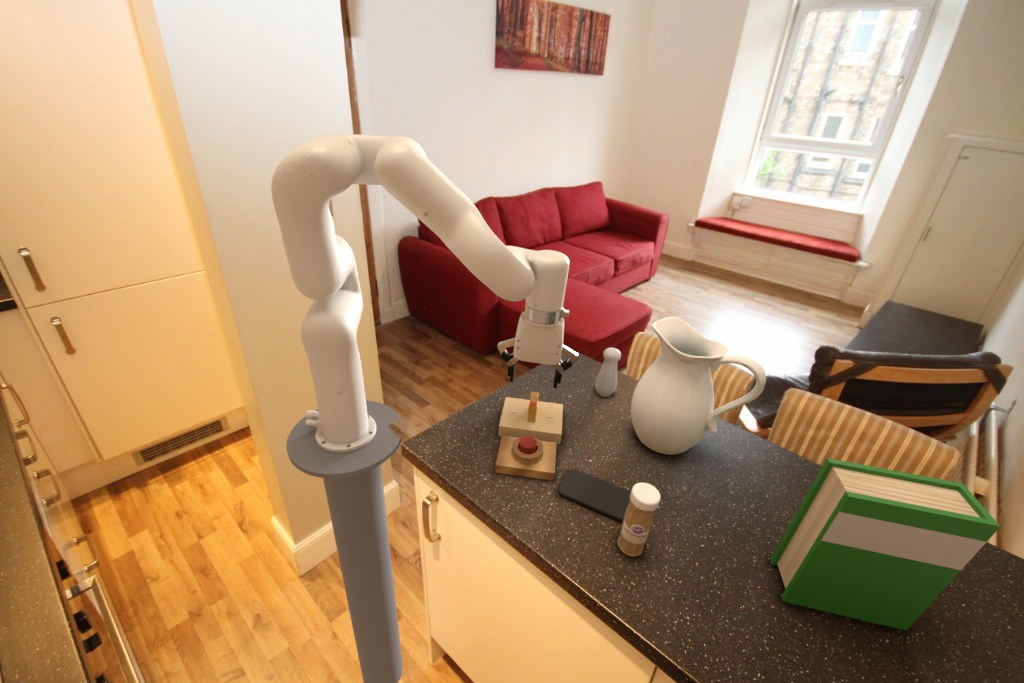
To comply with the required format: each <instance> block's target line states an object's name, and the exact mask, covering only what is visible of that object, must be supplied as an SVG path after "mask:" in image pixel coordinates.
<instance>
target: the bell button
mask: <svg viewBox="0 0 1024 683" xmlns="http://www.w3.org/2000/svg"><path fill="white" fill-rule="evenodd" d="M536 447H537V441H536V439H535V438H533V437H530V436H525V437H522V438H521V439H520V442H519V450H520V451H521V452H522V453H524V454H533V453H534V452H535V451H536Z"/></svg>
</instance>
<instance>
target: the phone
mask: <svg viewBox="0 0 1024 683" xmlns="http://www.w3.org/2000/svg"><path fill="white" fill-rule="evenodd" d="M558 494H559V495H560V496H562V497H564V498H566V499H568V500H570V501H573V502H575V503H577V504H579V505H582V506H584V507H587V508H589V509H592V510H594V511H596V512H598V513H600V514H603V515H605V516H607V517H610V518H613V519H615V520H617V521H619V522H621V523H623V520H624V516H625V513H626V509H627V507H628V504H629V501H630V494H631V491H630V490H627V489H625V488H623V487H620V486H618V485H614V484H613V483H609V482H607V481H604V480H603V479H601V478H600V479H599V478H598V477H595V476H592V475H590V474H587V473H585V472H582V471H579V470H577V469H574V468H572V469H569V470H568V471H567V472H566V474H565V476H564V478H563V480H562V481H561V483H560V485H559V487H558Z"/></svg>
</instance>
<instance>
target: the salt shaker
mask: <svg viewBox="0 0 1024 683" xmlns="http://www.w3.org/2000/svg"><path fill="white" fill-rule="evenodd" d="M602 356H603V362H602V365H601V367H600V370H599V372H598V374H597V376H596V378H595V381H594V388H595V391H596V394H598V395H599V396H601V397H604V398H610V397H611V395H613V393H615V392H616V390H617V388H618V362H620V360H621V359H622V358H621V357H622V353H621V351H620V350H619V349H618V348H616V347H607V348H605V349H604V351H603V355H602Z"/></svg>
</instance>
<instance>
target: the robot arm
mask: <svg viewBox="0 0 1024 683" xmlns="http://www.w3.org/2000/svg"><path fill="white" fill-rule="evenodd" d="M426 154H427V153H426V152H425V150H424V148H423V147H422V146H421V145H420V144H419V142H417V141H416V140H414V139H413V138H411V137H408V136H402V135H373V134H355V133H329V134H325V135H322V136H320V137H317V138H314V139H311V140H309V141H307V142H305V143H303V144H302V145H300V146H298V147H297V148H295V149H293V150H291V152H289V153H288V154H287V155H285V156H284V157H283V158H282V159H281V161H280V162H279V163H278V164H277V165H276V167H275V170H274V172H273V174H272V179H271V184H270V185H271V186H270V192H271V198H272V204H273V207H274V211H275V215H276V218H277V221H278V225H279V230H280V235H281V239H282V243H283V244H282V245H283V248H284V251H285V255H286V259H287V263H288V266H289V271H290V275H291V279H292V281H293V284H294V286H295V287H296V289H297V290H298V292H300V293H301V295H303V296H304V297H306V298H307V299H310V300H313V301H312V303H311V305H310V306H309V308H308V310H307V311H306V313H305V314H304V317H303V320H302V322H301V326H300V340H301V343H302V346H303V349H304V351H305V354H306V357H307V360H308V363H309V369H310V373H311V379H312V381H313V387H314V393H315V398H316V405H317V409H318V410H319V412H317V411H315V410H313V409H312V410H311V409H308V410H306V413H305V416H306V418H307V420H306V423H305V424H306V425H308V426H315V427H316V428H317V430H316V434H315V436H316V441H317V444H318V445H319V446H320V447H321V448H322V449H324V450H326V451H329V452H334V453H345V452H351V451H354V450H357V449H360V448H361V447H363V446H365V445H366V444H368V443H369V442H370V441H371V440H372V439H373V438H374V436H375V434H376V423H375V421H374V419H373V418H372V417H371V416H369V415H368V414H367V406H366V400H367V399H366V390H365V389H366V388H365V384H364V383H365V382H364V381H365V380H364V373H363V372H364V371H363V366H362V359H361V356H360V355H361V354H360V350H359V347H358V340H357V339H358V338H357V336H358V335H357V334H358V330H359V325H360V322H361V319H362V315H363V311H364V301H363V294H362V288H361V283H360V279H359V272H358V268H357V262H356V258H355V254H354V252H353V249H352V248H351V246H350V245H349V243H348V241H346V240H345V239H344V238H343V237H342V236H340V235H338V234H336V230H335V223H334V219H333V215H332V213H331V210H330V202H331V200H332V199H333V198H334V197H336V196H338V195H340V194H342V193H344V192H345V191H347V190H348V189H349V188H350V187H352V185H366V186H369V185H370V186H382V187H383V189H384V190H385V191H387V193H389V194H390V196H392V197H393V198H394V199H395V200H396V201H398V202H399V203H400V204H401V205H402V206H403V207H405V209H407V210H408V211H409V212H410V213H411V214H412V215H413V216H414V217H415V218H417V219H418V220H419V221H420V222H422V223H423V224H424V225H425V226H426V227H427V228H428V229H429V230H430V231H431V232H433V234H435V235H436V236H437V237H438V238H439V239H440V240H441V241H442V242H443V244H444V245H445V247H447V248H448V250H449V251H450V252H452V254H454V256H455V257H456V258H457V259H458V260H459V261H460V262H461V263H462V265H463V266H464V267H465V268H466V269H467V270H468V271H469V272H470V273H471V274H472V275H473V276H474V277H475V278H476V279H478V280H479V281H480V282H481V283H482V284H483V285H484V286H486V287H487V288H488V289H489V290H490V291H492V292H493V293H494V294H495V295H496V296H497V297H499V298H501V299H502V300H505V301H507V302H513V303H514V302H520V301H523V300H525V304H524V311H522V312H521V313H520V315H519V319H518V323H517V325H516V326H517V327H516V331H515V336H514V337H512V338H509V339H506V340H502V341H499V342H498V343H497V347H496V348H497V349H498V352H499V354H500V357H501V358H502V359H503V361H504V362H506V365H507V367H508V368H507V377H509V382H510V383H513V382H514V379H515V374H516V367H517V366H516V365H517V363H518V362H519V361H521V362H527V363H533V364H541V365H548V366H549V365H550V366H553V367H554V368H555V372H554V377H553V386H552V388H553V389H556V390H557V388H558V384H560V385H561V383H562V376H563V375H564V373H565V372H566V371H567V370H569V369H570V368H572V367H573V365H574V364H575V363H576V362H577V361H578V359H579V353H578V352H576V351H574V349H572V348H570V347H569V346H567V345H565V344H564V340H565V339H564V337H565V319H564V318H565V317H568V318H569V316H570V310H569V309H566V308H565V307H564V302H565V296H566V291H567V290H566V289H567V283H568V276H569V271H570V259H569V257H568V256H567V255H566V254H565V253H563V252H561V251H558V250H552V249H542V250H535V249H529V248H525V247H520V246H515V245H505V243H504V242H503V241H502V240H501V239H500V238H499V237H498V235H496V234H495V232H494V231H493V230H492V229H491V227H490V226H489V225H488V224H487V222H486V221H485V219H484V218H483V215H482V214H481V212H480V211H479V209H478V208H477V206H476V205H475V204H474V202H473V201H472V200H471V199H470V197H468V196H467V195H466V194H465V193H464V192H463V191H462V190H461V189H460V188H459V187H457V186H456V185H455V184H454V183H453V182H452V181H451V180H450V179H449V178H448V177H447V176H446V175H445V174H444V173H443V172H442V171H441V170H440V169H439V168H438V167H437V166H436V165H435V164H434V163H433V162H432V161H430V159H429V158H428V157H427V155H426ZM511 347H513V352H512V353H510V352H509V351H508V350H507V349H508V348H511ZM562 354H563V355H565V356H567V357H568V358H567V359H566V360H564V361H563V359H562ZM310 419H313V420H310ZM315 419H317V421H316V420H315Z"/></svg>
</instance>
